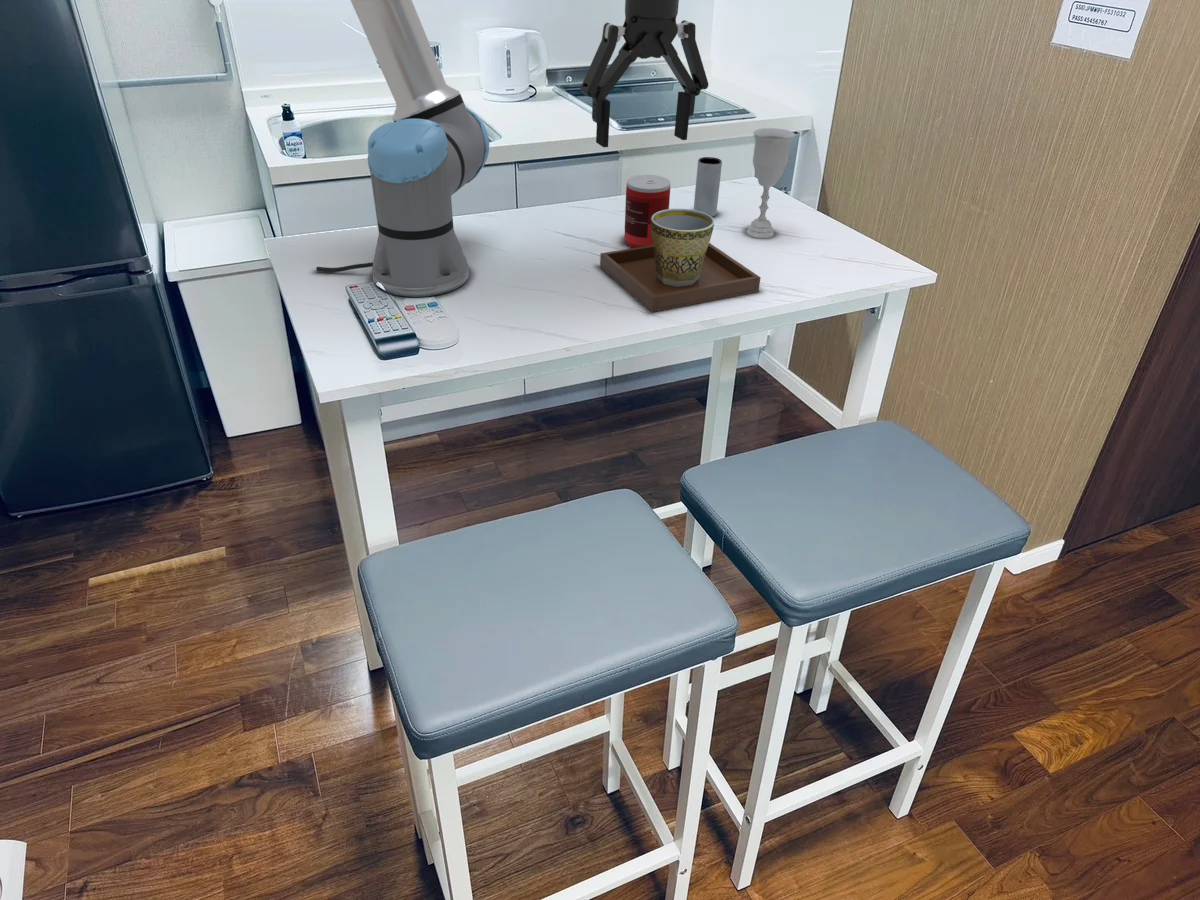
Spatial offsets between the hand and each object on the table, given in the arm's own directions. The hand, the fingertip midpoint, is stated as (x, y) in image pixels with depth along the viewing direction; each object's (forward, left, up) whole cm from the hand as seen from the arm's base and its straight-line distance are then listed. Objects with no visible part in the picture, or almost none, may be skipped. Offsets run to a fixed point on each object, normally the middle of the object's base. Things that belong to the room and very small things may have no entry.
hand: (641, 141), depth 129 cm
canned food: (+3, +12, -21) cm, 25 cm away
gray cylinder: (+16, +27, -21) cm, 38 cm away
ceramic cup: (+7, -3, -21) cm, 22 cm away
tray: (+7, -4, -21) cm, 23 cm away
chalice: (+25, +17, -21) cm, 37 cm away
